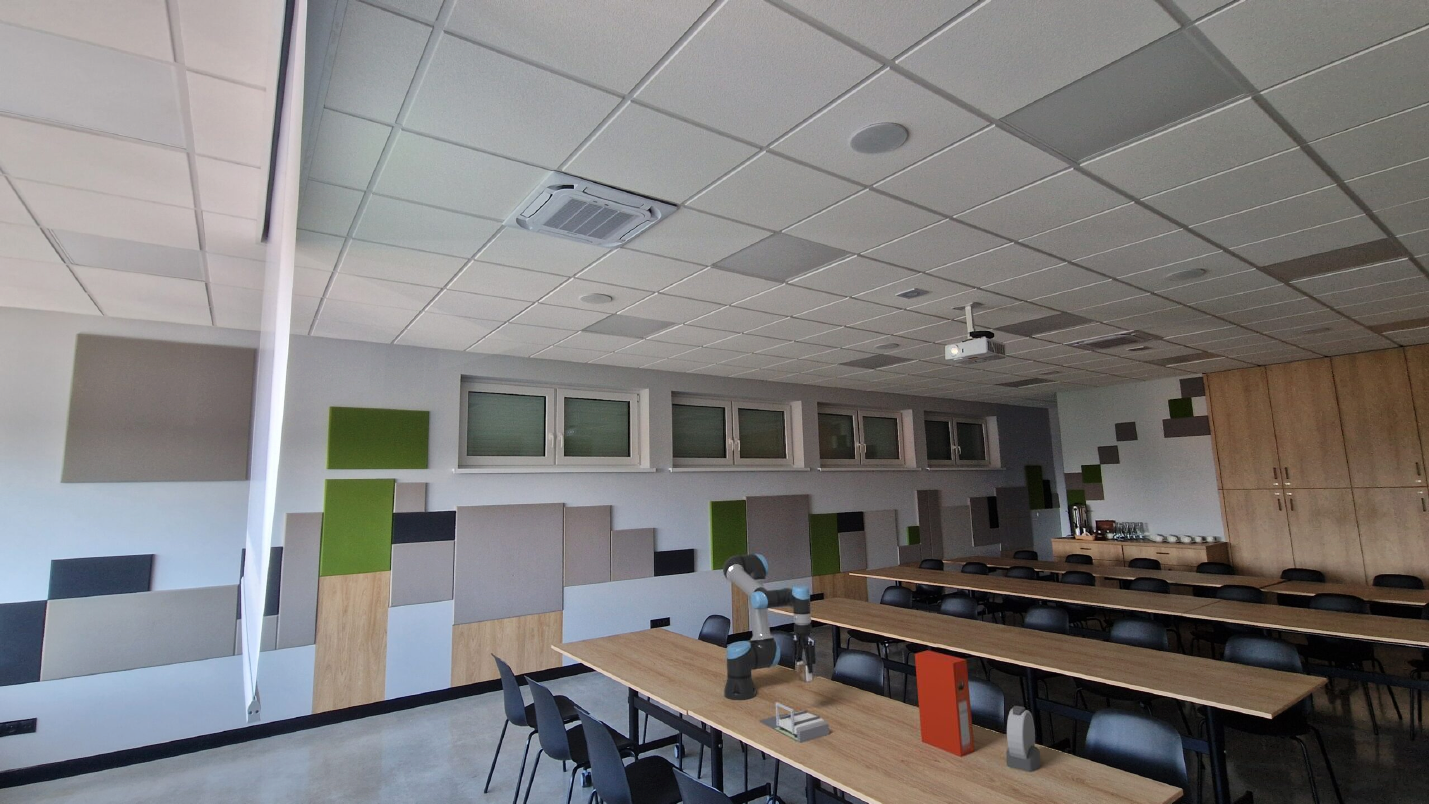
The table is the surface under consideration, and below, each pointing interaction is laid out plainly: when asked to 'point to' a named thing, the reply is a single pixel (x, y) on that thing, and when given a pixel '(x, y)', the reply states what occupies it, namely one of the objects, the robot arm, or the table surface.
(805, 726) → the white tray
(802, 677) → the block
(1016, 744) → the grey two-tone upright device
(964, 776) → the table surface
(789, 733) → the grey holder base
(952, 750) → the file binder
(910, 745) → the table surface
